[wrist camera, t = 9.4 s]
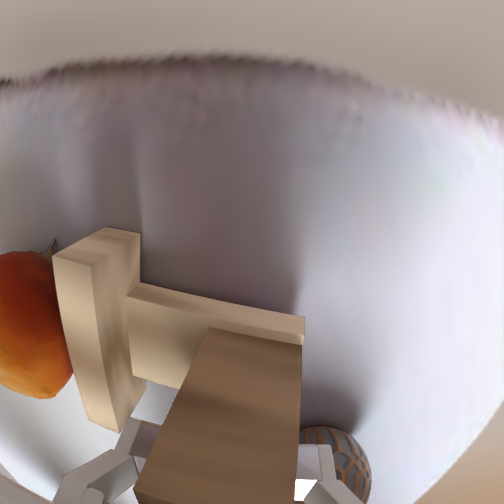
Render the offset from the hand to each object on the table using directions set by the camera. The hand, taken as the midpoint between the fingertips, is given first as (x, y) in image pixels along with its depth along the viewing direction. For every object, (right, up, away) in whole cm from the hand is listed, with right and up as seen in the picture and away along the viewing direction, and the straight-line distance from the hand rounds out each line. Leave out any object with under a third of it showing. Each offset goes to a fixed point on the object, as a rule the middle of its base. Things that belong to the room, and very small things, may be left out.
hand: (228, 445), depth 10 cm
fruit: (-11, +4, +6) cm, 14 cm away
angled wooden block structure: (-2, +3, +6) cm, 7 cm away
